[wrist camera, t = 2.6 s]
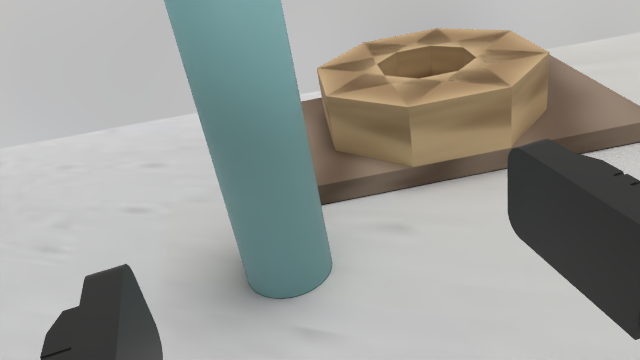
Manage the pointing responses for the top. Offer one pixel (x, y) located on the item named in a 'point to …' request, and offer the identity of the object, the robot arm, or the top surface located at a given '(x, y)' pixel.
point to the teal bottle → (256, 138)
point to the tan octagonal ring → (434, 95)
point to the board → (555, 124)
